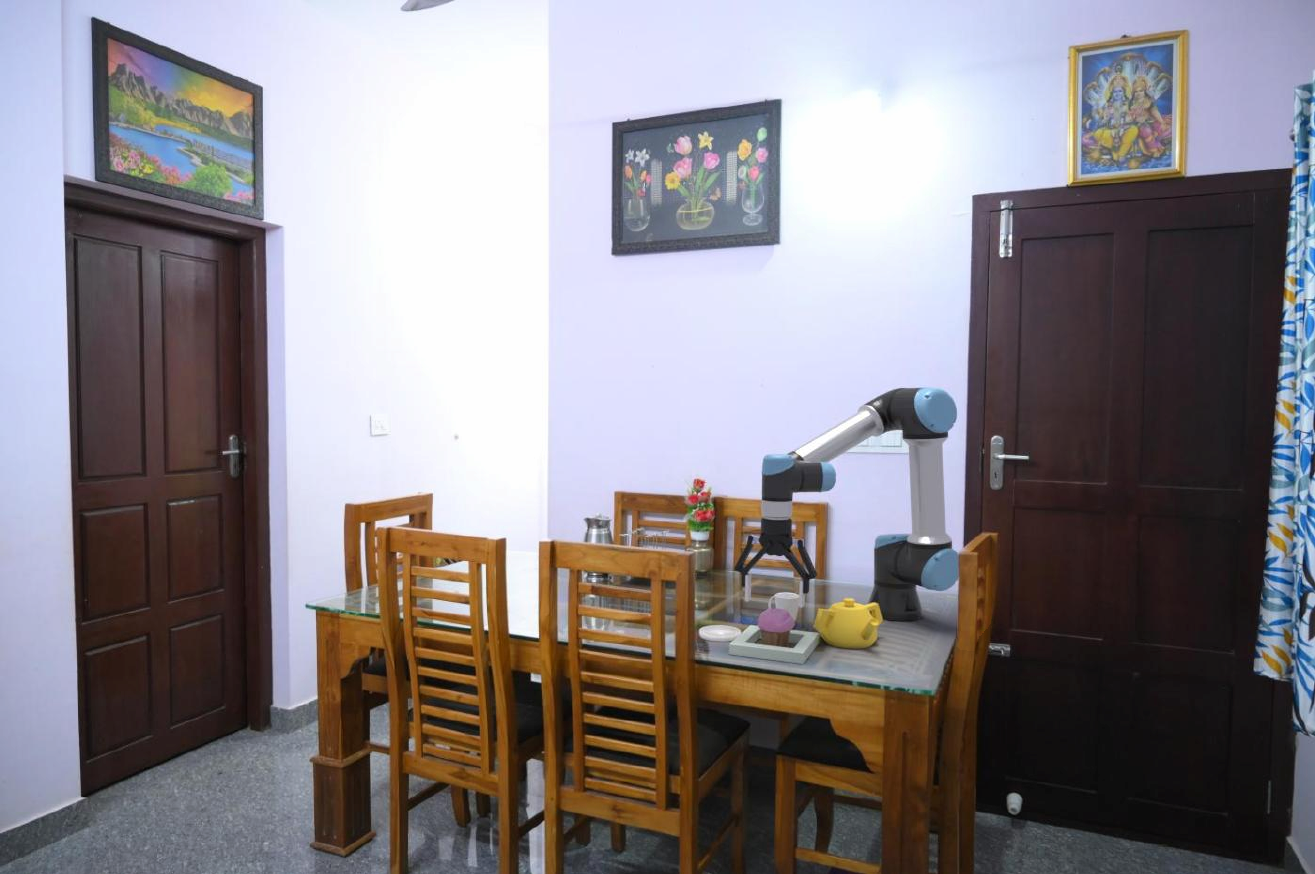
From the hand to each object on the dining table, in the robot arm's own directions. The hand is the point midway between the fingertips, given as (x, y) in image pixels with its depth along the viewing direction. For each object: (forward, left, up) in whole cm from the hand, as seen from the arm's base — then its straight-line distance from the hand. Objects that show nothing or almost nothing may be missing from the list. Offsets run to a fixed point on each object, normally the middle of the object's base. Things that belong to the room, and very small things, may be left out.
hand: (774, 603), depth 202 cm
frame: (0, 0, -11) cm, 11 cm away
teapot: (-17, -12, -12) cm, 24 cm away
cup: (+4, -23, -12) cm, 26 cm away
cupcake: (0, 0, -12) cm, 12 cm away
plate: (+16, -5, -11) cm, 20 cm away
